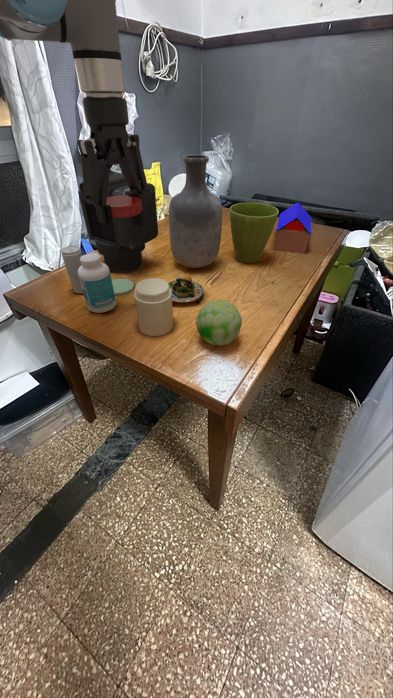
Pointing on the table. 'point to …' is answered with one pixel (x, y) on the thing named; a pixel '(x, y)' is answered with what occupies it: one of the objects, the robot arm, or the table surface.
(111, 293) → the pill bottle
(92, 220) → the lantern
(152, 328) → the jar
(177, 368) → the table surface
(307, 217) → the house
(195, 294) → the plate of food
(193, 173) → the vase
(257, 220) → the flower pot
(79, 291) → the beverage can
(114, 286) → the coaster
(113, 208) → the jar lid
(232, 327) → the decorative ball
